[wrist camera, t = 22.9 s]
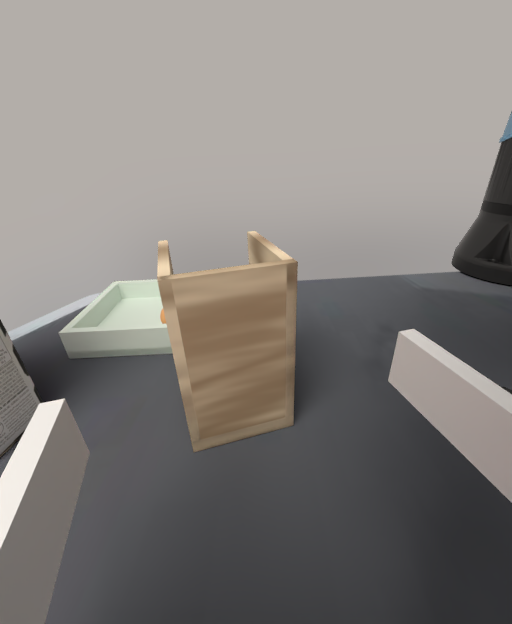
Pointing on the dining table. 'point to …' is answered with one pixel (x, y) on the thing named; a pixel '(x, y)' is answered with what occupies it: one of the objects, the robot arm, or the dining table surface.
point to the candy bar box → (14, 394)
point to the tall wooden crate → (233, 343)
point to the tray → (119, 323)
